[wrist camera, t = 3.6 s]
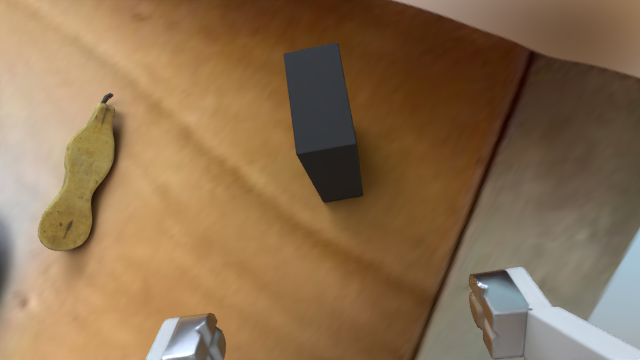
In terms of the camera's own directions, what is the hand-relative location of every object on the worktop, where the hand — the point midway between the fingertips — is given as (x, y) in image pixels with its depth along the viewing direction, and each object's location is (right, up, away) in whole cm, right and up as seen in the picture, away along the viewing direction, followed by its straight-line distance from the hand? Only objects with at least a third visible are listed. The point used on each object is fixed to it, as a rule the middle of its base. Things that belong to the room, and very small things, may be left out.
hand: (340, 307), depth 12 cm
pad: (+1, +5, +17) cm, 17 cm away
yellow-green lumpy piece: (-20, +5, +20) cm, 28 cm away
